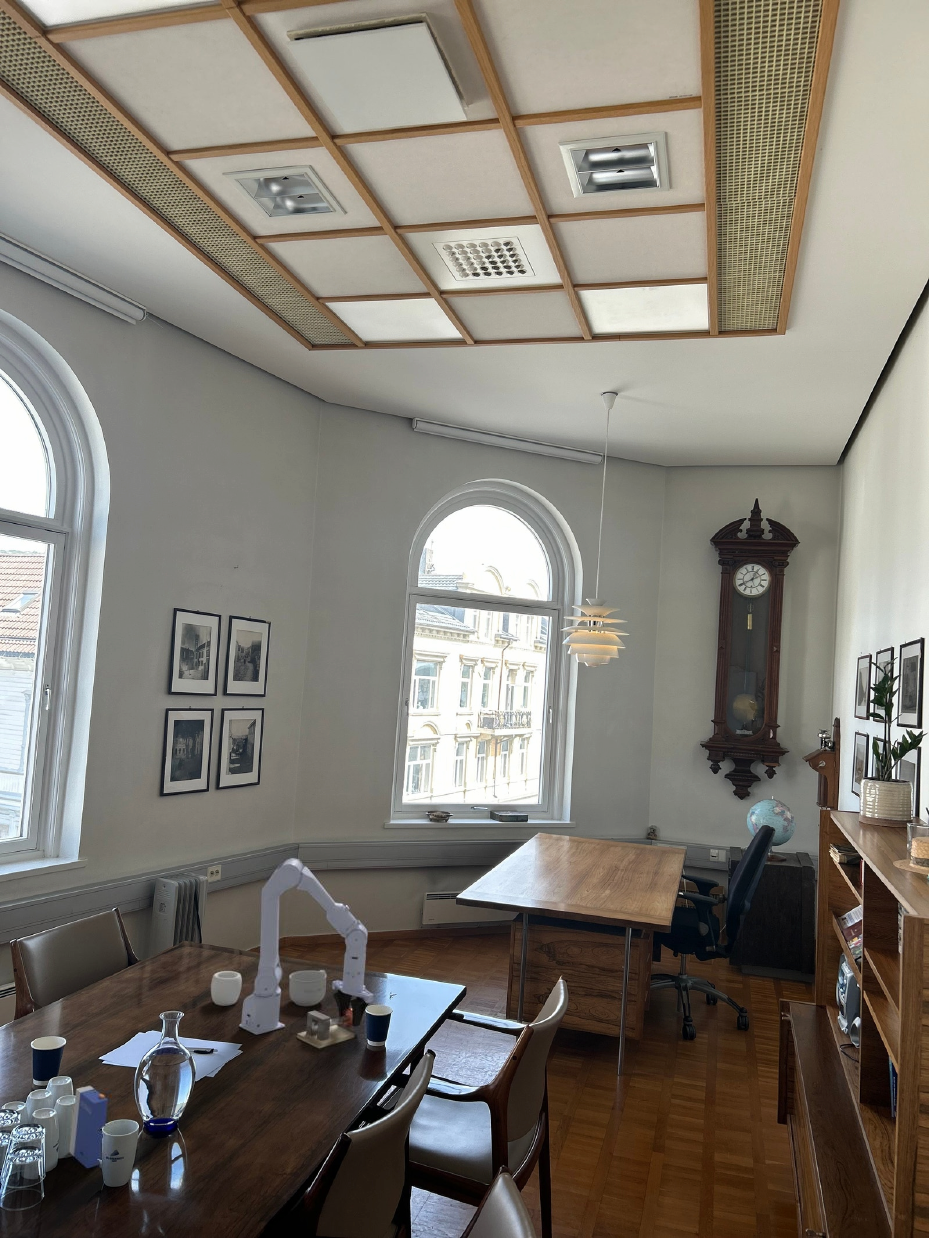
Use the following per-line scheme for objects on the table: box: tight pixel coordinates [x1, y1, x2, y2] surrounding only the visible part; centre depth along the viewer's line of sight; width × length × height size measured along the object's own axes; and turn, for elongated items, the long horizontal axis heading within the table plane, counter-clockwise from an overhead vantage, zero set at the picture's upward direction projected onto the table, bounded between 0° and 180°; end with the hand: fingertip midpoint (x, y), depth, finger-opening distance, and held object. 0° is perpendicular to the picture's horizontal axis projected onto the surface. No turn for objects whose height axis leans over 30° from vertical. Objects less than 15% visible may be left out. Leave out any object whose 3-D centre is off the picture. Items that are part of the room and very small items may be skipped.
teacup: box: [288, 969, 327, 1007], centre depth 263 cm, size 14×11×8 cm
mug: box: [210, 970, 243, 1007], centre depth 259 cm, size 12×8×8 cm
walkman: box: [68, 1085, 109, 1169], centre depth 170 cm, size 8×3×12 cm, turn 47°
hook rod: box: [312, 1007, 354, 1031], centre depth 239 cm, size 14×5×5 cm, turn 139°
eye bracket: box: [296, 1010, 355, 1049], centre depth 237 cm, size 12×9×6 cm
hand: (349, 1022), depth 243 cm, fingers closed on hook rod, 5 cm apart
